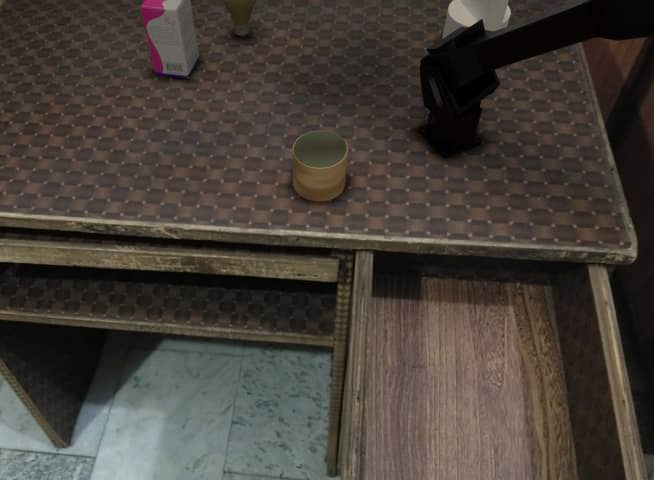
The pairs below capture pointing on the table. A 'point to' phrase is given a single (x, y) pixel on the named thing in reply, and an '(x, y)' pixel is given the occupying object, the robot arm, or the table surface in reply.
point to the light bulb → (240, 14)
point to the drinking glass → (477, 14)
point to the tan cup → (319, 165)
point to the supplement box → (171, 36)
